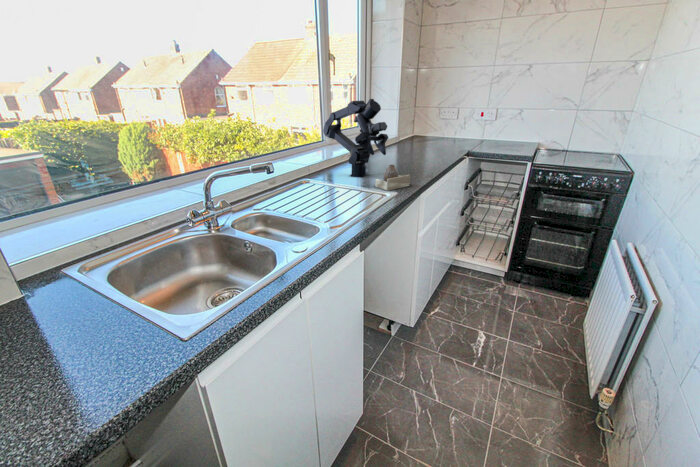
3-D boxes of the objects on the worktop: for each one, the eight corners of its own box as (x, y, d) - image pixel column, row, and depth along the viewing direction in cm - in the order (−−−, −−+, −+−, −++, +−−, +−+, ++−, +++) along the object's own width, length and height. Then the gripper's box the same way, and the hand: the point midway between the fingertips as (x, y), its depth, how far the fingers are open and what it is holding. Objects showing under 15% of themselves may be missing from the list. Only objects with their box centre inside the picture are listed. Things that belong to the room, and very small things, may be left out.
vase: (382, 185, 147) (382, 166, 143) (384, 181, 153) (385, 163, 149) (397, 186, 145) (398, 167, 142) (399, 182, 151) (400, 163, 148)
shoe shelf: (375, 186, 147) (375, 175, 145) (396, 181, 155) (397, 171, 153) (388, 190, 141) (388, 179, 139) (409, 185, 148) (410, 174, 146)
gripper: (365, 112, 140) (380, 144, 138) (389, 116, 154) (403, 145, 152) (348, 127, 148) (362, 158, 146) (373, 130, 162) (386, 158, 160)
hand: (379, 154), depth 151 cm, fingers open, 9 cm apart
